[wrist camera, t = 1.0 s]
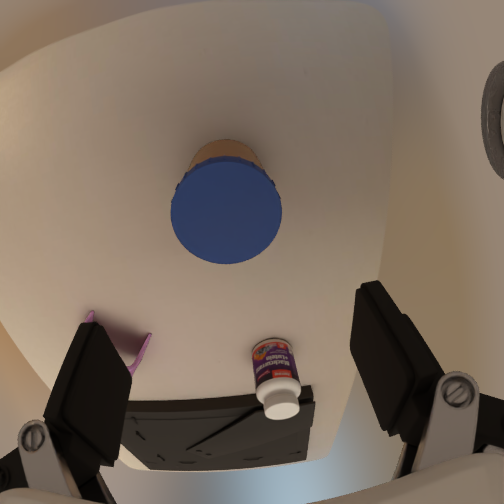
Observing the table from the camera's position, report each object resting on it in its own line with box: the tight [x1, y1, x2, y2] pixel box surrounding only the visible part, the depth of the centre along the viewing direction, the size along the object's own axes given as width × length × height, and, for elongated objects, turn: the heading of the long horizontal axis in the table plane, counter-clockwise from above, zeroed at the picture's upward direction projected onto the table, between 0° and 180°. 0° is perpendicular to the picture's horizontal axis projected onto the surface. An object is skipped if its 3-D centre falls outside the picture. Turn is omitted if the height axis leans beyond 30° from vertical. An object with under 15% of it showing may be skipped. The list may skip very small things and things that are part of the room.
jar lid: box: [171, 155, 282, 264], centre depth 19 cm, size 7×7×2 cm
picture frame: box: [121, 385, 315, 471], centre depth 50 cm, size 31×4×38 cm
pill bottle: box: [252, 339, 301, 420], centre depth 35 cm, size 5×5×10 cm
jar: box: [187, 139, 263, 172], centre depth 23 cm, size 7×7×9 cm
